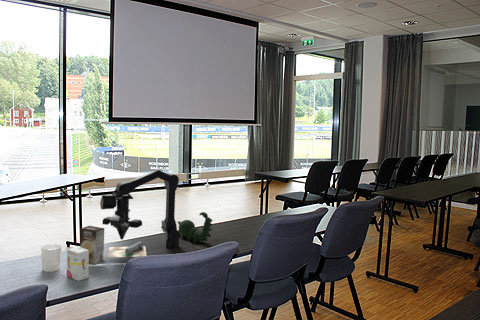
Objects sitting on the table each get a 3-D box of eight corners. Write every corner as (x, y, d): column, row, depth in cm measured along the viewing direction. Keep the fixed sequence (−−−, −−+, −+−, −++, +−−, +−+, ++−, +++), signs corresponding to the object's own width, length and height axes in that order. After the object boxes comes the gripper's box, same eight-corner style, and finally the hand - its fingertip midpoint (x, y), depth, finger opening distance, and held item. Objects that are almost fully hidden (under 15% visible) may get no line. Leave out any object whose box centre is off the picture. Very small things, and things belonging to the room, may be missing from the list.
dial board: (145, 248, 215) (145, 245, 215) (146, 258, 198) (146, 255, 198) (109, 249, 210) (109, 246, 210) (107, 259, 194) (107, 257, 194)
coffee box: (78, 262, 188) (79, 228, 187) (88, 258, 194) (88, 225, 193) (95, 265, 185) (95, 230, 184) (104, 261, 191) (105, 227, 190)
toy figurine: (213, 246, 230) (182, 233, 245) (216, 213, 228) (185, 203, 242) (201, 249, 222) (170, 236, 237) (205, 215, 220) (173, 205, 235)
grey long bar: (138, 246, 212) (138, 241, 211) (144, 247, 211) (144, 242, 211) (123, 254, 198) (123, 248, 198) (130, 255, 197) (130, 249, 197)
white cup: (53, 273, 173) (53, 250, 172) (36, 271, 174) (37, 248, 174) (64, 267, 180) (65, 245, 180) (48, 265, 182) (49, 243, 181)
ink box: (65, 276, 170) (66, 248, 170) (76, 273, 174) (77, 246, 174) (78, 281, 166) (78, 252, 165) (88, 278, 170) (89, 250, 169)
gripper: (96, 209, 194) (95, 241, 195) (132, 212, 190) (131, 245, 191) (108, 205, 205) (108, 235, 206) (143, 208, 201) (142, 239, 202)
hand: (121, 239), depth 201 cm, fingers closed
